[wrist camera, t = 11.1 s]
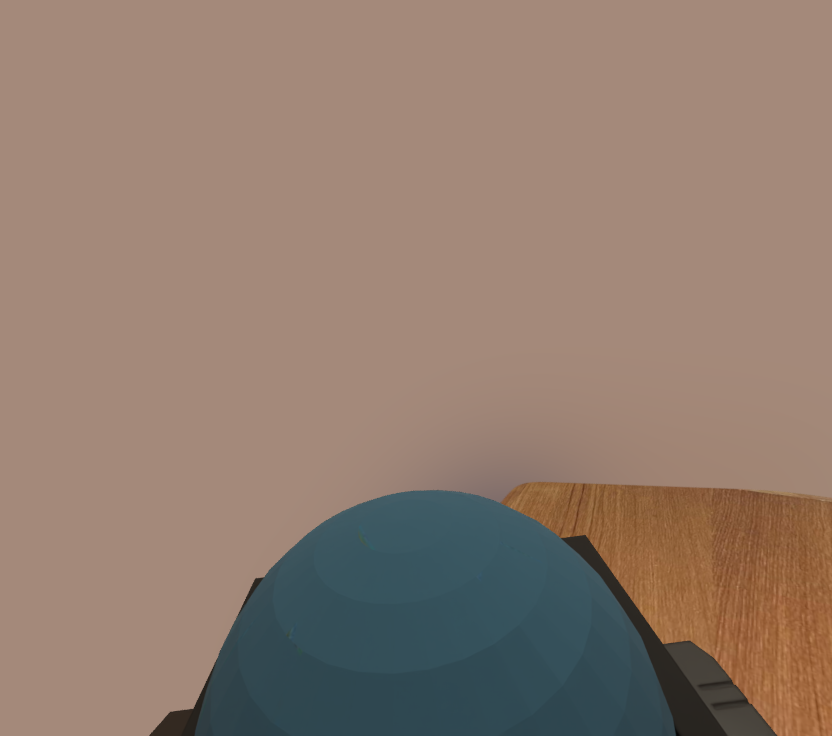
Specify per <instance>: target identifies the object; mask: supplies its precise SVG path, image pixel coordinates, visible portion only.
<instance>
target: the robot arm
mask: <svg viewBox="0 0 832 736" xmlns="http://www.w3.org/2000/svg"><path fill="white" fill-rule="evenodd" d="M561 539H562V540H563V541H564V542H565V543H566V544H568V545H569V546H570V547H571V548H572V549H573V550H575V551H576V552H577V553H578V554H579V555H580V556H581V557H582V558H583V559H584V560H585V561H586V562H587V563H588V564H589V565H590V566H591V567H592V568H593V569H594V570H595V571H596V572H597V573H598V574H599V575H600V576H601V578H602V579H603V581H604V582H605V584H606V585H607V586H608V588H609V589H610V591H611V592H612V594H613V595H614V596H615V598H616V599H617V601H618V602H619V604H620V605H621V607H622V608H623V610H624V611H625V613H626V614H627V616H628V617H629V619H630V620H631V622H632V624H633V625H634V627H635V628H636V630H637V631H638V633H639V634H640V636H641V638H642V640H643V643H644V645H645V648H646V650H647V653H648V655H649V658H650V661H651V663H652V666H653V668H654V671H655V673H656V676H657V678H658V681H659V683H660V686H661V688H662V691H663V694H664V696H665V699H666V701H667V704H668V707H669V709H670V712H671V714H672V717H673V722H674V728H675V733H676V736H777V735H776V734H775V732H774V731H773V730H772V729H771V727H770V726H769V725H768V724H767V723H766V721H765V720H764V719H763V718H762V716H761V715H760V714H759V713H758V712H757V710H756V709H755V708H754V707H753V705H752V704H749V703H748V700H747V698H746V697H745V696H744V694H743V693H742V692H741V691H740V690H739V688H738V687H737V686H736V685H734V684H733V682H732V680H731V679H730V677H729V676H728V675H727V674H726V672H725V671H724V670H723V669H722V668H721V666H720V665H719V664H718V663H717V661H716V660H715V659H714V658H713V657H712V656H710V655H709V654H707V653H706V652H705V651H703V650H702V649H701V648H699V647H698V646H696V645H695V644H694V643H692V642H691V641H683V642H675V643H668V644H662V642H661V641H660V639H659V638H658V637H657V635H656V634H655V632H654V631H653V630H652V628H651V627H650V625H649V624H648V623H647V621H646V620H645V618H644V617H643V615H642V614H641V613H640V611H639V610H638V608H637V607H636V606H635V604H634V603H633V601H632V600H631V599H630V597H629V596H628V594H627V593H626V592H625V590H624V589H623V587H622V586H621V585H620V583H619V582H618V580H617V579H616V577H615V576H614V575H613V573H612V572H611V570H610V569H609V568H608V566H607V565H606V563H605V562H604V561H603V559H602V558H601V556H600V555H599V554H598V552H597V551H596V549H595V548H594V547H593V545H592V544H591V542H590V541H589V539H588V538H587V537H586V535H582V536H575V537H567V538H561ZM262 580H263V578H256V579H255V580H254V582H253V584H252V587H251V589H250V591H249V593H248V595H247V597H246V599H245V601H244V604H243V605H242V608H241V610H240V612H241V611H242V609H243V608H244V606H245V604H246V603H247V601H248V600H249V598H250V597H251V595H252V594H253V592H254V590H255V589H256V588H257V586H258V585H259V584H260V582H261V581H262ZM240 612H239V614H240ZM239 614H238V615H239ZM237 617H238V616H237ZM216 661H217V660H216ZM215 664H216V662H215ZM214 667H215V665H214ZM214 667H213V669H212V671H211V673H210V675H209V677H208V679H207V681H206V683H205V686H204V688H203V690H202V692H201V694H200V696H199V698H198V700H197V702H196V705H195V707H194V709H189V710H181V711H174V712H170V713H169V714H168V715H167V716H166V717H165V718H164V720H163V721H162V722H161V723H160V724H159V725H158V726H157V727H156V729H155V730H154V731H153V732H152V733H151V734H150V736H195V730H196V726H197V723H198V719H199V715H200V712H201V708H202V704H203V701H204V697H205V693H206V690H207V687H208V684H209V681H210V678H211V675H212V673H213V670H214Z"/></svg>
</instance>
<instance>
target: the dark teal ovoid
mask: <svg viewBox="0 0 832 736" xmlns="http://www.w3.org/2000/svg"><path fill="white" fill-rule="evenodd" d="M195 736H676V733H675V728H674V722H673V717H672V714H671V712H670V709H669V707H668V704H667V701H666V699H665V696H664V694H663V691H662V688H661V686H660V683H659V681H658V678H657V676H656V673H655V671H654V668H653V666H652V663H651V661H650V658H649V655H648V653H647V650H646V648H645V645H644V643H643V640H642V638H641V636H640V634H639V633H638V631H637V630H636V628H635V627H634V625H633V624H632V622H631V620H630V619H629V617H628V616H627V614H626V613H625V611H624V610H623V608H622V607H621V605H620V604H619V602H618V601H617V599H616V598H615V596H614V595H613V594H612V592H611V591H610V589H609V588H608V586H607V585H606V584H605V582H604V581H603V579H602V578H601V576H600V575H599V574H598V573H597V572H596V571H595V570H594V569H593V568H592V567H591V566H590V565H589V564H588V563H587V562H586V561H585V560H584V559H583V558H582V557H581V556H580V555H579V554H578V553H577V552H576V551H575V550H573V549H572V548H571V547H570V546H569V545H568V544H566V543H565V542H564V541H563V540H562V539H561V538H560V537H558V536H557V535H556V534H555V533H553V532H552V531H551V530H549V529H548V528H546V527H545V526H543V525H542V524H541V523H539V522H538V521H536V520H534V519H532V518H530V517H528V516H526V515H524V514H522V513H520V512H518V511H516V510H514V509H511V508H509V507H507V506H505V505H503V504H501V503H499V502H496V501H494V500H491V499H487V498H484V497H481V496H478V495H473V494H467V493H462V492H454V491H442V490H430V491H410V492H401V493H396V494H391V495H387V496H383V497H380V498H377V499H373V500H371V501H367V502H364V503H362V504H358V505H356V506H354V507H351V508H349V509H347V510H345V511H342V512H340V513H339V514H337V515H335V516H333V517H332V518H330V519H328V520H326V521H324V522H323V523H322V524H320V525H319V526H318V527H316V528H315V529H313V530H312V531H311V532H310V533H308V534H307V535H306V536H305V537H304V538H303V539H302V540H300V541H299V542H298V543H297V544H296V545H295V546H294V547H293V548H291V549H290V550H289V551H288V552H287V553H286V554H285V555H284V556H283V557H282V558H281V559H280V560H279V561H278V562H277V563H276V564H275V565H274V566H273V567H272V568H271V569H270V570H269V572H268V573H267V574H266V575H265V577H264V578H263V580H262V581H261V582H260V584H259V585H258V586H257V588H256V589H255V590H254V592H253V594H252V595H251V597H250V598H249V600H248V601H247V603H246V604H245V606H244V608H243V609H242V611H241V612H240V614H239V615H238V617H237V618H236V620H235V622H234V624H233V626H232V628H231V630H230V632H229V634H228V636H227V638H226V640H225V642H224V644H223V646H222V648H221V650H220V653H219V656H218V658H217V661H216V664H215V667H214V670H213V673H212V675H211V678H210V681H209V684H208V687H207V690H206V693H205V697H204V701H203V704H202V708H201V712H200V715H199V719H198V723H197V726H196V730H195Z"/></svg>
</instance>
